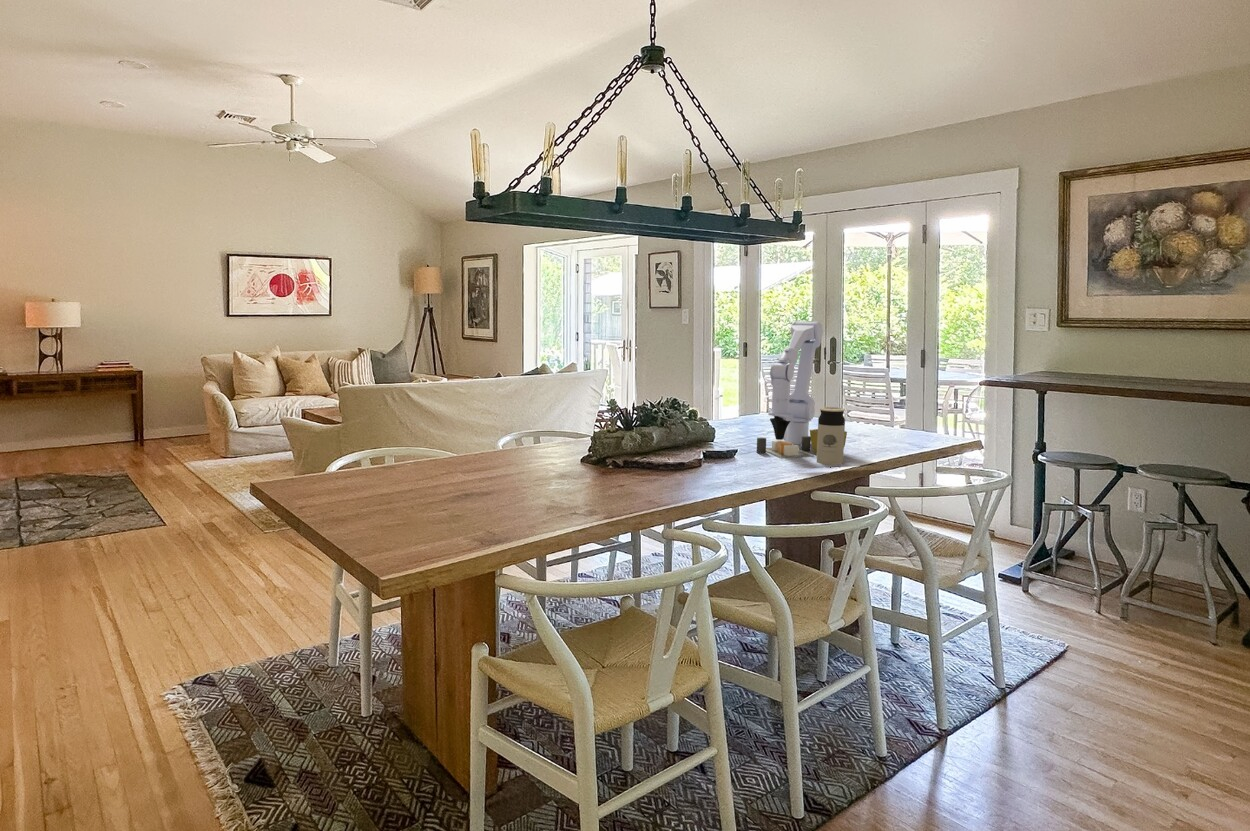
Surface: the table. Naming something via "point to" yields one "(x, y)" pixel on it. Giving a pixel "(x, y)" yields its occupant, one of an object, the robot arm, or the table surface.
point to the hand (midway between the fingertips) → (779, 439)
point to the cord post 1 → (761, 445)
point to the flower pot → (815, 436)
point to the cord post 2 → (805, 443)
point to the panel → (781, 455)
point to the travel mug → (831, 436)
